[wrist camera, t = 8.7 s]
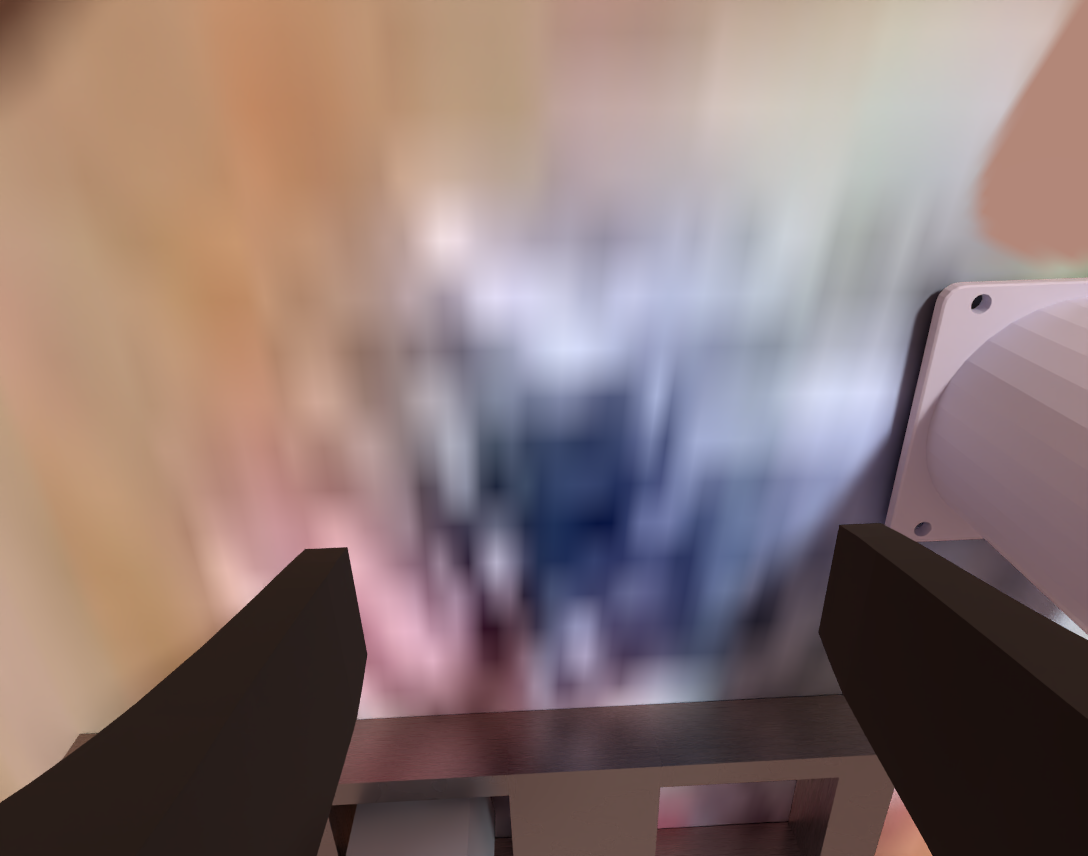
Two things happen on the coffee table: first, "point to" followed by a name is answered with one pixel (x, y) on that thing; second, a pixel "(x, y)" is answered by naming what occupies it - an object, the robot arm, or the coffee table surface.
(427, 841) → the peg
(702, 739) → the rail
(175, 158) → the coffee table surface
